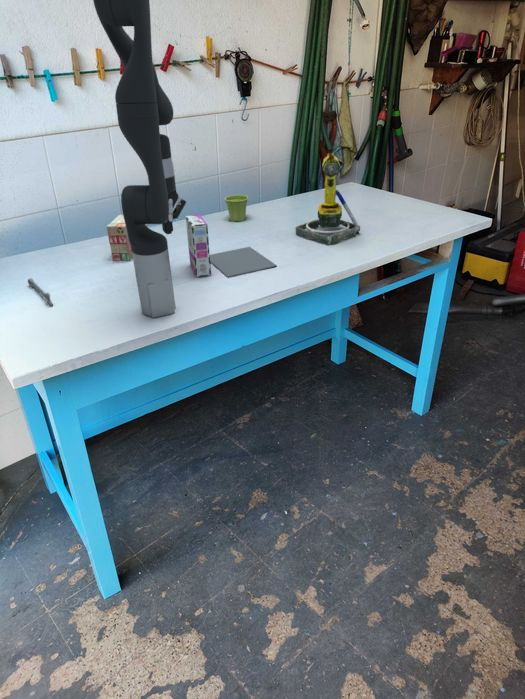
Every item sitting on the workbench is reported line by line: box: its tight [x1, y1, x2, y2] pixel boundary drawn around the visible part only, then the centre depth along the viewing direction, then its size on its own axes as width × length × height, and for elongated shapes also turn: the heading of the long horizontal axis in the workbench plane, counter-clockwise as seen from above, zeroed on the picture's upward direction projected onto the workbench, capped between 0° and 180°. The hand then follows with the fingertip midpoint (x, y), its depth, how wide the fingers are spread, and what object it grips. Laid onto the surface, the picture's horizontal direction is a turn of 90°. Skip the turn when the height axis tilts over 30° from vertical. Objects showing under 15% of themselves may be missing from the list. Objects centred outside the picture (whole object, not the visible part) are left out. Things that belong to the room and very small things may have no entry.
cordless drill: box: [295, 153, 361, 246], centre depth 184 cm, size 18×19×28 cm
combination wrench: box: [27, 277, 54, 306], centre depth 152 cm, size 4×1×20 cm
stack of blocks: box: [106, 214, 148, 262], centre depth 181 cm, size 21×6×12 cm, turn 174°
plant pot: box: [224, 194, 249, 222], centre depth 208 cm, size 9×9×9 cm
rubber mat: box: [210, 246, 278, 279], centre depth 171 cm, size 20×17×1 cm
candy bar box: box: [185, 214, 212, 278], centre depth 162 cm, size 11×5×16 cm, turn 17°
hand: (168, 233), depth 158 cm, fingers closed
